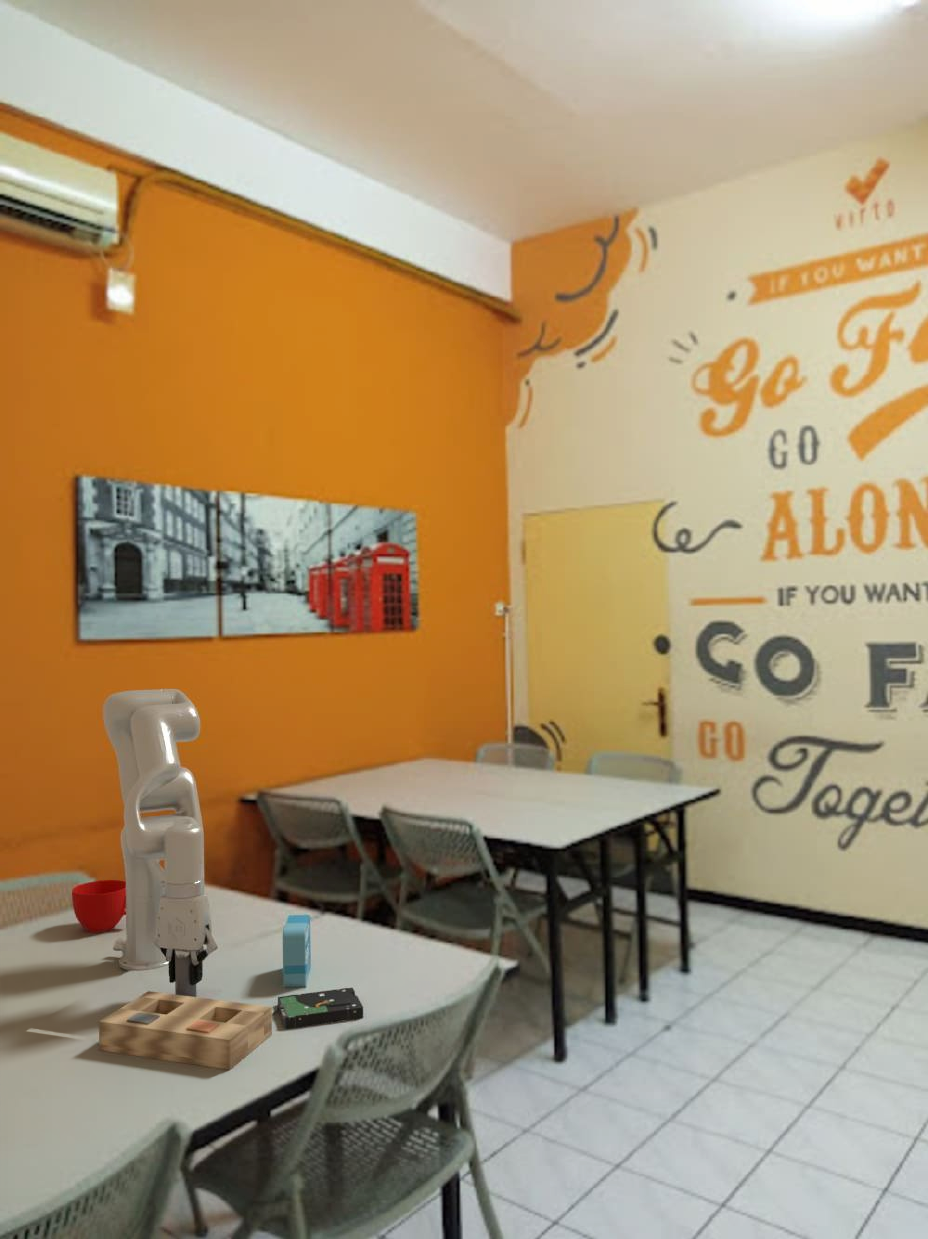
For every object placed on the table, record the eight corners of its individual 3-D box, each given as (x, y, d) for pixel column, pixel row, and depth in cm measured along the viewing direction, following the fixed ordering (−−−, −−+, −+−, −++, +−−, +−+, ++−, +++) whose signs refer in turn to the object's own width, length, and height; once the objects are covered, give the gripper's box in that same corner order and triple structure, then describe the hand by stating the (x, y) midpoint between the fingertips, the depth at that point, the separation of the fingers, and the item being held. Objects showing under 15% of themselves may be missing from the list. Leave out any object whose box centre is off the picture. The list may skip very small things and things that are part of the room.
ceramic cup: (134, 936, 226) (133, 894, 226) (63, 937, 227) (62, 895, 227) (152, 919, 239) (152, 879, 239) (85, 919, 240) (84, 879, 240)
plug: (171, 1000, 187) (170, 949, 187) (183, 992, 191) (182, 942, 191) (188, 1002, 186) (188, 951, 186) (200, 994, 189) (199, 944, 189)
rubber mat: (148, 1007, 185) (148, 1004, 185) (179, 988, 194) (179, 985, 194) (193, 1013, 182) (193, 1010, 182) (222, 993, 191) (222, 990, 191)
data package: (305, 990, 193) (305, 930, 193) (283, 991, 192) (282, 931, 192) (310, 968, 205) (310, 912, 205) (289, 969, 204) (288, 913, 204)
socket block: (99, 1049, 167) (98, 1019, 167) (149, 1017, 180) (148, 989, 180) (229, 1070, 159) (229, 1038, 159) (271, 1034, 172) (271, 1005, 172)
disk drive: (352, 1000, 189) (276, 1010, 184) (352, 986, 189) (276, 995, 184) (364, 1021, 179) (284, 1032, 174) (364, 1006, 179) (284, 1016, 174)
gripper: (136, 890, 187) (137, 984, 187) (210, 897, 182) (212, 993, 182) (159, 880, 194) (161, 970, 194) (232, 886, 189) (233, 979, 189)
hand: (185, 980), depth 188 cm, fingers closed on plug, 4 cm apart
